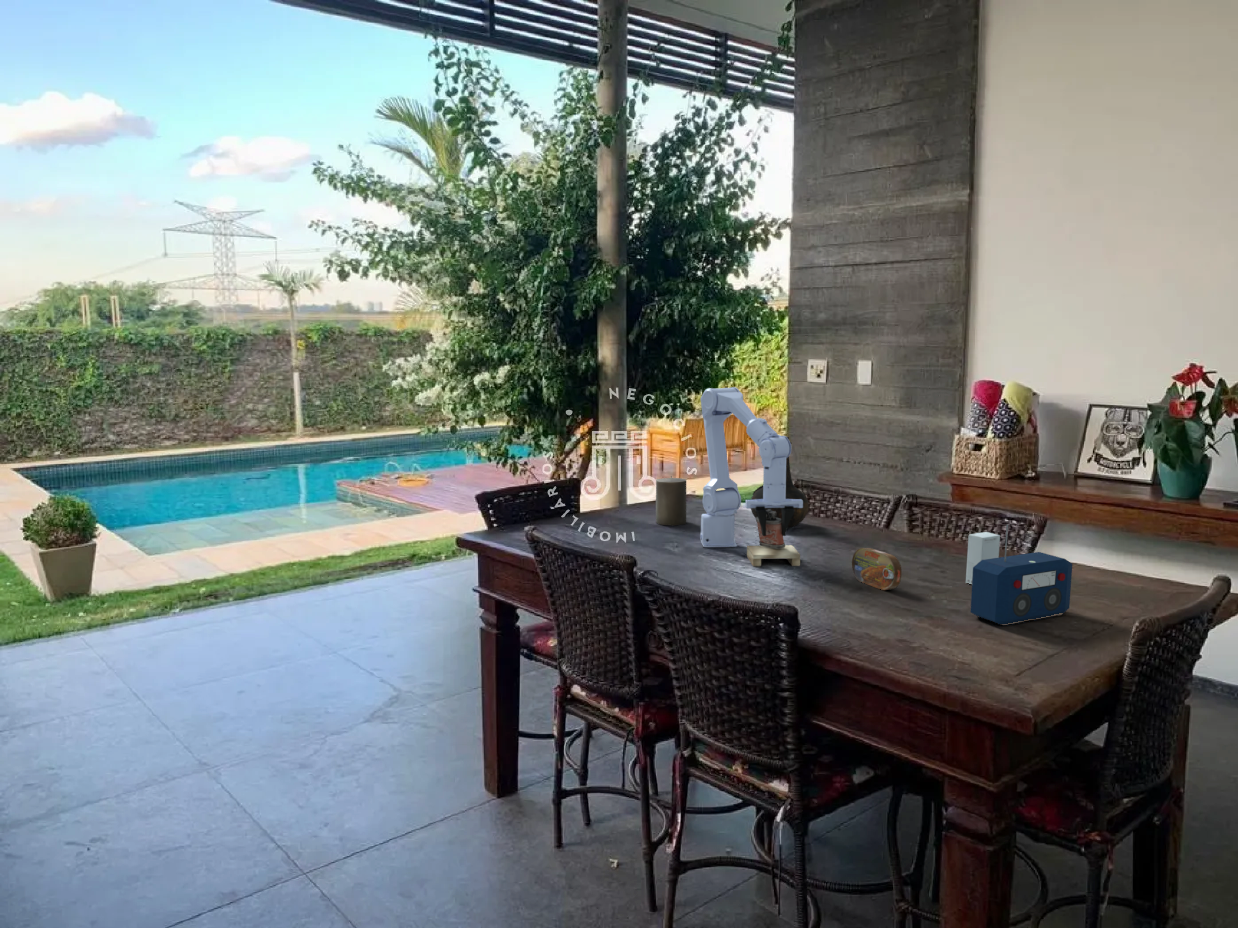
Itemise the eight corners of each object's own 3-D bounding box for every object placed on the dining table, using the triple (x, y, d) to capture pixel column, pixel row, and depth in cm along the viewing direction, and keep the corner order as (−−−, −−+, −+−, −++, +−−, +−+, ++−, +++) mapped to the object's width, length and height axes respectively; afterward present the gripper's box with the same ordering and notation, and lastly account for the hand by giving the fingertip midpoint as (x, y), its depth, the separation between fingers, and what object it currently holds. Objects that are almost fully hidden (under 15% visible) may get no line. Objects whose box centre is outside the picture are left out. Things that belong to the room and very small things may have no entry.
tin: (850, 578, 213) (851, 544, 212) (860, 576, 214) (862, 543, 213) (892, 594, 199) (893, 558, 198) (903, 593, 200) (904, 557, 199)
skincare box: (979, 588, 204) (982, 537, 202) (965, 583, 207) (967, 534, 206) (998, 584, 206) (1000, 534, 205) (983, 580, 210) (985, 531, 208)
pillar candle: (687, 525, 272) (687, 478, 270) (655, 525, 272) (656, 478, 270) (685, 519, 282) (685, 473, 280) (655, 519, 282) (655, 473, 280)
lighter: (788, 545, 230) (782, 509, 227) (779, 549, 228) (774, 513, 225) (765, 541, 236) (759, 506, 234) (756, 545, 234) (751, 509, 232)
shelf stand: (753, 566, 224) (753, 554, 223) (746, 556, 234) (747, 545, 233) (800, 565, 224) (800, 554, 224) (791, 556, 234) (792, 545, 234)
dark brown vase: (765, 517, 284) (767, 431, 280) (817, 524, 274) (820, 434, 270) (739, 527, 270) (740, 436, 266) (793, 534, 259) (795, 440, 255)
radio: (1000, 629, 175) (1006, 531, 172) (966, 617, 183) (971, 523, 180) (1074, 616, 183) (1081, 522, 180) (1039, 604, 191) (1045, 514, 188)
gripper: (748, 486, 222) (748, 538, 224) (806, 485, 222) (804, 538, 224) (744, 481, 229) (743, 532, 231) (799, 481, 229) (798, 532, 231)
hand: (773, 535), depth 228 cm, fingers closed on lighter, 4 cm apart
